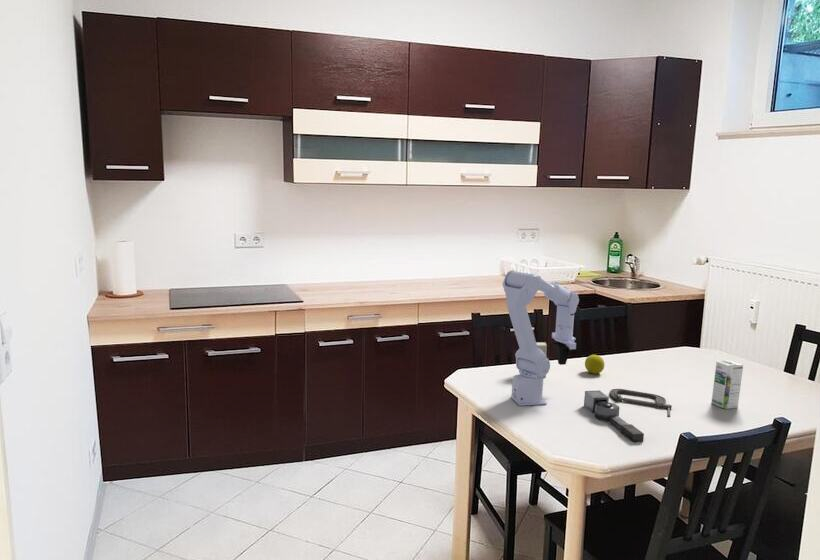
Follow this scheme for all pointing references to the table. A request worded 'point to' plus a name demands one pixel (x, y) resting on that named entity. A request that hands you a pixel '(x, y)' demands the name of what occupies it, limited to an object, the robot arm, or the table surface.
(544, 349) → the skincare box
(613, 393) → the c clamp
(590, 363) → the tennis ball
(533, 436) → the table surface
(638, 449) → the table surface
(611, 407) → the ratchet
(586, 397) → the brushed steel cube
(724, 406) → the syrup box
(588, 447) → the table surface
